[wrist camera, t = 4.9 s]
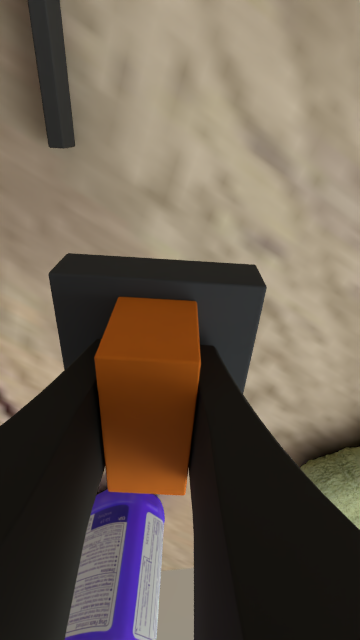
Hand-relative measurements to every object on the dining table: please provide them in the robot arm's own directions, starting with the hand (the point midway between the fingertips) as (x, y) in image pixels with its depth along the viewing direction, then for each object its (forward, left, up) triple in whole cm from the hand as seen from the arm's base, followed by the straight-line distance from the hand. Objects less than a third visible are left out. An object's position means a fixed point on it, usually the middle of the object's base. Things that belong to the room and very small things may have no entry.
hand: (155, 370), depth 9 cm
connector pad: (0, 0, -2) cm, 2 cm away
